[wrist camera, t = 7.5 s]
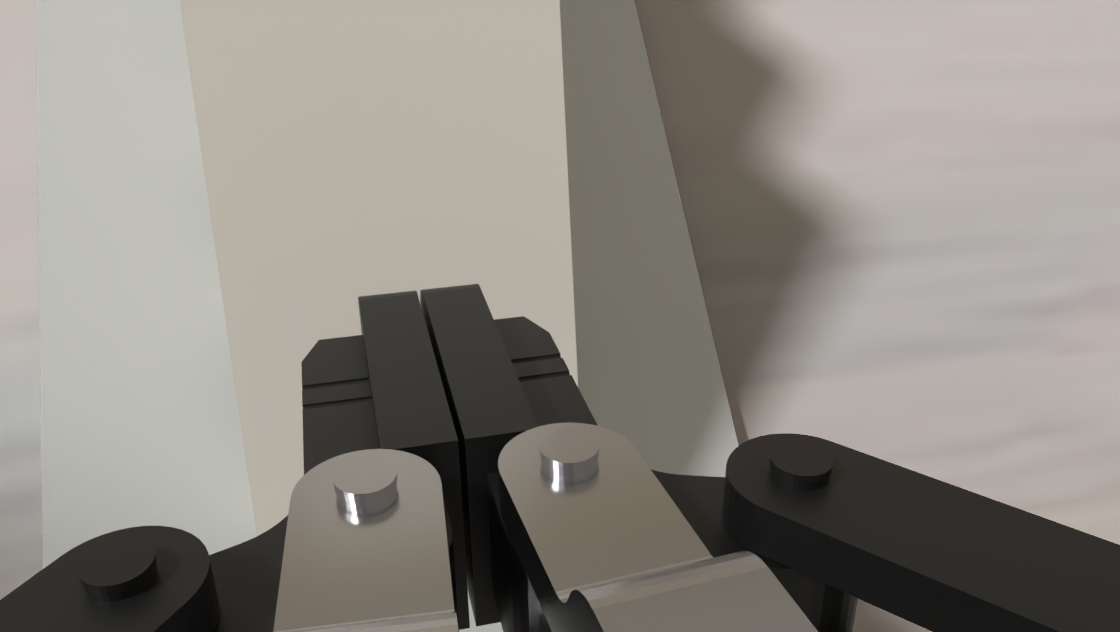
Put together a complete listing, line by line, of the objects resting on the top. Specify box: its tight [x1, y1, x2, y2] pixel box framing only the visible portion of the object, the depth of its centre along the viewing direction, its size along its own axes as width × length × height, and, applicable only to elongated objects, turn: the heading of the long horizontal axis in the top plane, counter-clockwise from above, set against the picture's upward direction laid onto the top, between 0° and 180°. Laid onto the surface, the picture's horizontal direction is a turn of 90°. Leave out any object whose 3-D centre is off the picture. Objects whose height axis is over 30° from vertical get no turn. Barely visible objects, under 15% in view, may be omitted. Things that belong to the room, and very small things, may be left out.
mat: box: [35, 0, 739, 632], centre depth 19 cm, size 12×21×1 cm, turn 11°
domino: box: [179, 0, 578, 536], centre depth 15 cm, size 5×2×10 cm
